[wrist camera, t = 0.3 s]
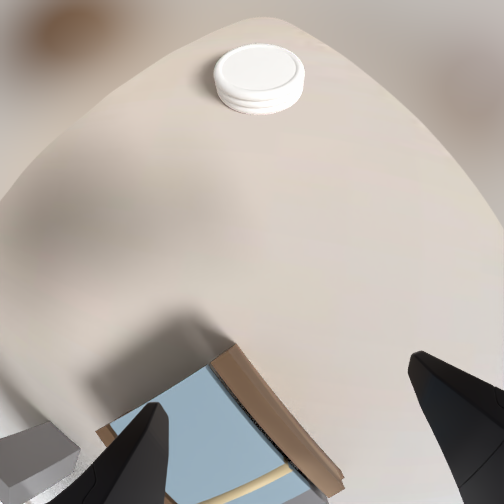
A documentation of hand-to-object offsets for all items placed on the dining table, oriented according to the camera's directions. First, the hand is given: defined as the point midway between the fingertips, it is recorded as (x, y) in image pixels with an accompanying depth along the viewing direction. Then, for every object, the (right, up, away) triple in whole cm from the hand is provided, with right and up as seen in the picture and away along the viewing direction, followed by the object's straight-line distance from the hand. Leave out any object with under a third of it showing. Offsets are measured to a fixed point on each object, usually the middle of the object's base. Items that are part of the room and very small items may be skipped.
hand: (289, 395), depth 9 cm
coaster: (0, +24, +21) cm, 32 cm away
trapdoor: (-4, -13, +10) cm, 17 cm away
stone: (-24, -18, +13) cm, 32 cm away
